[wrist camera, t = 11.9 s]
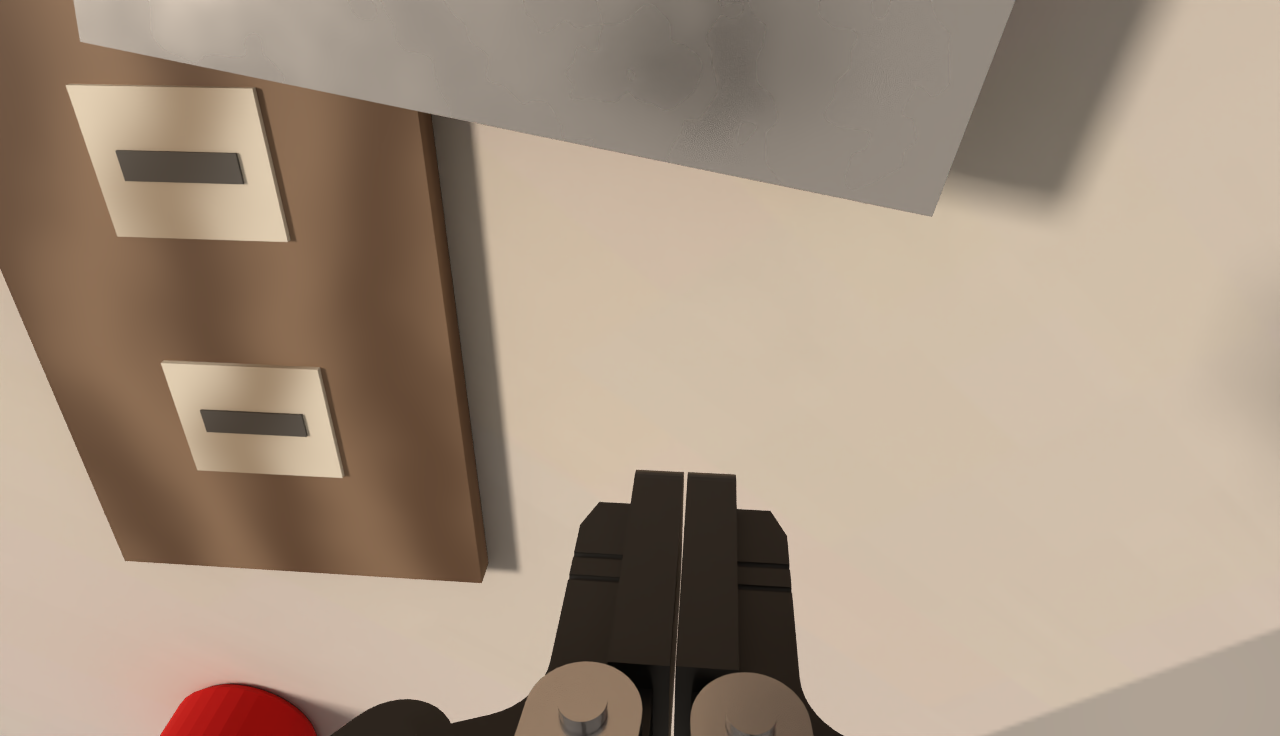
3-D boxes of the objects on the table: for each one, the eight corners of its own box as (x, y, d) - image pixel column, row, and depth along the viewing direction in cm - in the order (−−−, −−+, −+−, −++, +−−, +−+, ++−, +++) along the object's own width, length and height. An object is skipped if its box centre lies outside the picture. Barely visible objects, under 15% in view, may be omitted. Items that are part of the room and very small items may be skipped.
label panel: (389, -208, 23) (364, -213, 21) (488, 563, 37) (477, 595, 36) (-163, -203, 24) (-228, -208, 22) (141, 541, 38) (115, 572, 37)
